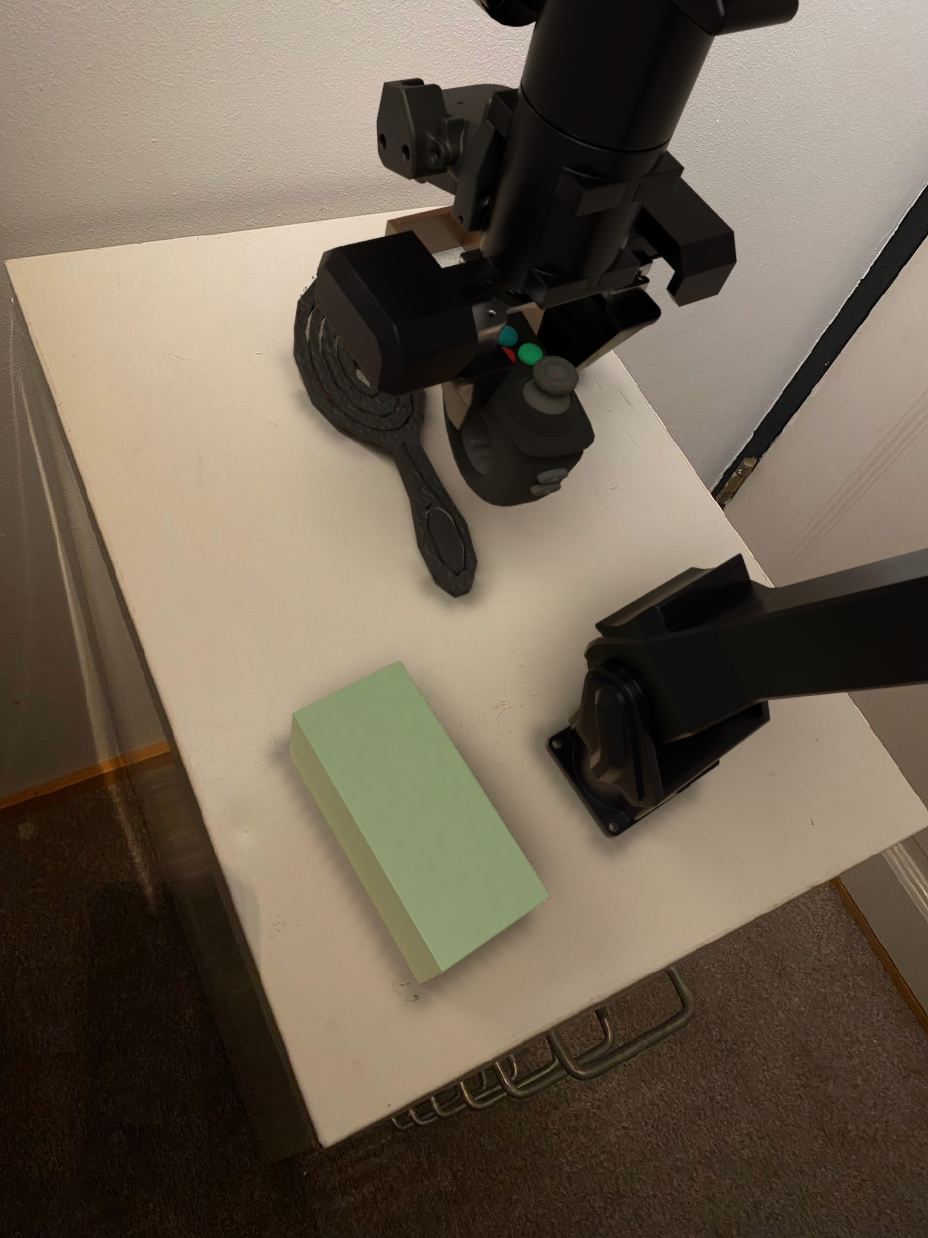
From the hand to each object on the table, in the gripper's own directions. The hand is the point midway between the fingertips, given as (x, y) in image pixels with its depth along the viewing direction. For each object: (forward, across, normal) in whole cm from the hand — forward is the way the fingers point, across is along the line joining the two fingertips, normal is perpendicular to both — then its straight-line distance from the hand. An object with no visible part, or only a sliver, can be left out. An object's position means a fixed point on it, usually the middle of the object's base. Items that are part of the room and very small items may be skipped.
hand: (494, 409), depth 42 cm
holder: (+12, -13, -16) cm, 24 cm away
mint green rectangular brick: (+12, +12, +15) cm, 23 cm away
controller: (+4, 0, 0) cm, 4 cm away
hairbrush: (+12, 0, -8) cm, 15 cm away
